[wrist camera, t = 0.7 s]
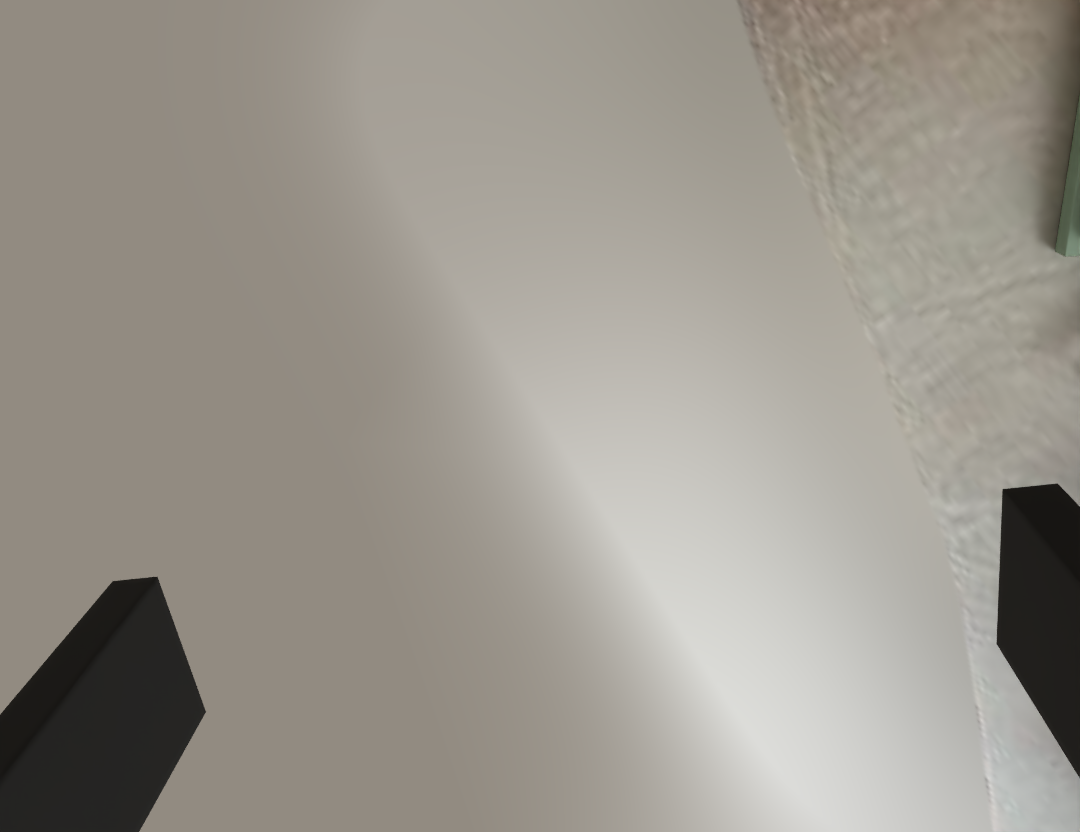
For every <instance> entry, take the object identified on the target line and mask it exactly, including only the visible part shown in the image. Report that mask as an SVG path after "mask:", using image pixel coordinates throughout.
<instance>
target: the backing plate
mask: <svg viewBox="0 0 1080 832" xmlns="http://www.w3.org/2000/svg"><path fill="white" fill-rule="evenodd" d="M1055 252H1057V253H1059V254H1061V255H1063V256H1065V257H1066V256H1080V95H1079V102H1078V108H1077V114H1076V121H1075V127H1074V133H1073V140H1072V146H1071V153H1070V159H1069V165H1068V172H1067V178H1066V185H1065V191H1064V197H1063V204H1062V210H1061V216H1060V223H1059V229H1058V236H1057V242H1056V248H1055Z"/></svg>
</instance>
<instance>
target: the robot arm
mask: <svg viewBox="0 0 1080 832" xmlns="http://www.w3.org/2000/svg"><path fill="white" fill-rule="evenodd" d="M997 645H998V647H999V648H1000V650H1001V652H1002V653H1003V655H1004V657H1005V658H1006V660H1007V661H1008V663H1009V665H1010V666H1011V668H1012V669H1013V671H1014V673H1015V674H1016V676H1017V678H1018V679H1019V681H1020V682H1021V684H1022V686H1023V687H1024V689H1025V690H1026V692H1027V694H1028V695H1029V697H1030V699H1031V700H1032V702H1033V703H1034V705H1035V707H1036V708H1037V710H1038V711H1039V713H1040V715H1041V716H1042V718H1043V720H1044V721H1045V723H1046V724H1047V726H1048V728H1049V729H1050V731H1051V732H1052V734H1053V736H1054V737H1055V739H1056V740H1057V742H1058V744H1059V745H1060V747H1061V749H1062V750H1063V752H1064V753H1065V755H1066V757H1067V758H1068V760H1069V761H1070V763H1071V765H1072V766H1073V768H1074V770H1075V771H1076V773H1077V774H1078V776H1079V778H1080V507H1079V506H1078V504H1077V503H1076V502H1075V501H1074V500H1073V499H1072V498H1071V497H1070V496H1069V495H1068V494H1067V493H1066V492H1065V491H1064V490H1063V489H1062V488H1061V487H1060V486H1059V485H1058V484H1049V485H1039V486H1030V487H1020V488H1010V489H1003V495H1002V520H1001V546H1000V572H999V597H998V623H997ZM205 713H206V711H205V708H204V706H203V703H202V700H201V697H200V694H199V691H198V689H197V686H196V683H195V680H194V678H193V675H192V672H191V669H190V666H189V664H188V661H187V658H186V655H185V653H184V650H183V647H182V644H181V642H180V639H179V636H178V633H177V631H176V628H175V625H174V622H173V619H172V616H171V614H170V611H169V608H168V606H167V602H166V600H165V597H164V594H163V591H162V589H161V586H160V583H159V580H158V577H149V578H140V579H130V580H121V581H113V582H112V583H111V584H110V585H109V586H108V588H107V589H106V590H105V591H104V592H103V594H102V595H101V596H100V597H99V598H98V599H97V601H96V602H95V603H94V604H93V605H92V607H91V608H90V609H89V610H88V611H87V613H86V614H85V615H84V616H83V617H82V618H81V620H80V621H79V622H78V623H77V625H76V626H75V627H74V628H73V629H72V630H71V632H70V633H69V634H68V635H67V636H66V637H65V639H64V640H63V641H62V642H61V643H60V644H59V646H58V647H57V648H56V649H55V650H54V652H53V653H52V654H51V655H50V656H49V657H48V659H47V660H46V661H45V662H44V663H43V665H42V666H41V667H40V668H39V669H38V671H37V672H36V673H35V674H34V675H33V676H32V678H31V679H30V680H29V681H28V682H27V684H26V685H25V686H24V687H23V688H22V690H21V691H20V692H19V693H18V694H17V695H16V697H15V698H14V699H13V700H12V701H11V702H10V704H9V705H8V706H7V707H6V708H5V710H4V711H3V712H2V713H1V715H0V832H139V831H140V829H141V827H142V825H143V824H144V822H145V820H146V818H147V817H148V815H149V813H150V811H151V809H152V808H153V806H154V804H155V802H156V800H157V799H158V797H159V795H160V793H161V791H162V789H163V788H164V786H165V784H166V782H167V780H168V779H169V777H170V775H171V773H172V771H173V770H174V768H175V766H176V764H177V763H178V761H179V759H180V757H181V756H182V754H183V752H184V750H185V748H186V746H187V745H188V743H189V741H190V739H191V738H192V736H193V734H194V732H195V730H196V728H197V727H198V725H199V723H200V721H201V720H202V718H203V716H204V714H205Z"/></svg>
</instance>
